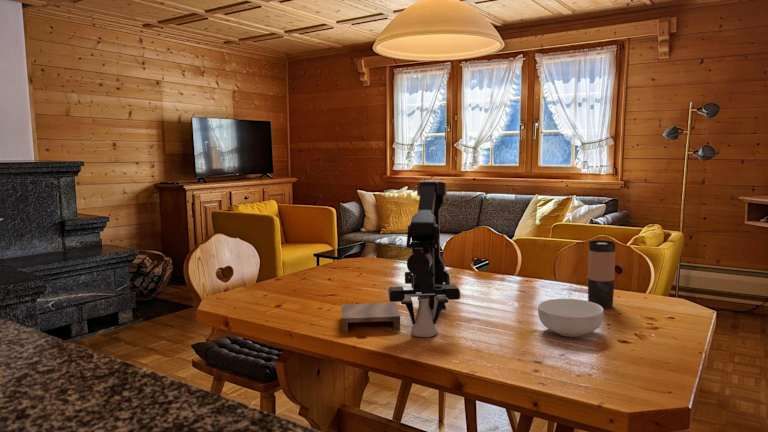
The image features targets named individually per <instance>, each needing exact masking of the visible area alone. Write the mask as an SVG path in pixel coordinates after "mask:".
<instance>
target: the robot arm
mask: <svg viewBox="0 0 768 432" xmlns="http://www.w3.org/2000/svg"><path fill="white" fill-rule="evenodd" d="M416 188H417V190H416V191H417V193H416V196H418V197H419V200H418V207H417V213H415V214H413V216H412V217H411V219H410V220H411V221H410V223H409V224H408V226H407V236H406V244H405V245H406V249H411V255H409V256H408V259H407V261H406V267H407V269H408V271H404V284H405V285H408V284H409V285H411V289H404V286H402V285H401V286H389V287H388V289H387V297H388V301H389V303H399V302H400V303H401V305H403V306H404V305H405V306H406V309H407V310H408V314H409V317H410V320H411V322H412V326H413V325H414V324H415V319H416V317H415V309H414V303H413V300H412V298H414V297H416V298H418V297H420V296H428V297H430V299H429V308H430V310H433V315H432V318H433V322H434V324H435V325H436V324H437V321H438V319H439V315H440V313H441V310H443V309H447V305H446V304H448V303H449V301H450V300H451V301H452V300H453V301H454V300H460V299H461V291H460V288H459V287H458V286H456V284H451V281H450V279H451V278H450V273H448V269H446V262H445V261H444V259H443V258H442V256H441V233H440V232H441V227H440V226H441V225H440V224H441V221H440V220H441V219H440V217H441V215H440V214H441V213H440V212H441V211H440V210H441V207H442V206H443V204H444V202H445V200H446V199H445V197H447V193H448V189H447V188H448V187H447V183H446V182H443V180H437V179H436V180H435V179H427V180H426V179H424V180H421V181H419V182H417V185H416Z"/></svg>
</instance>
